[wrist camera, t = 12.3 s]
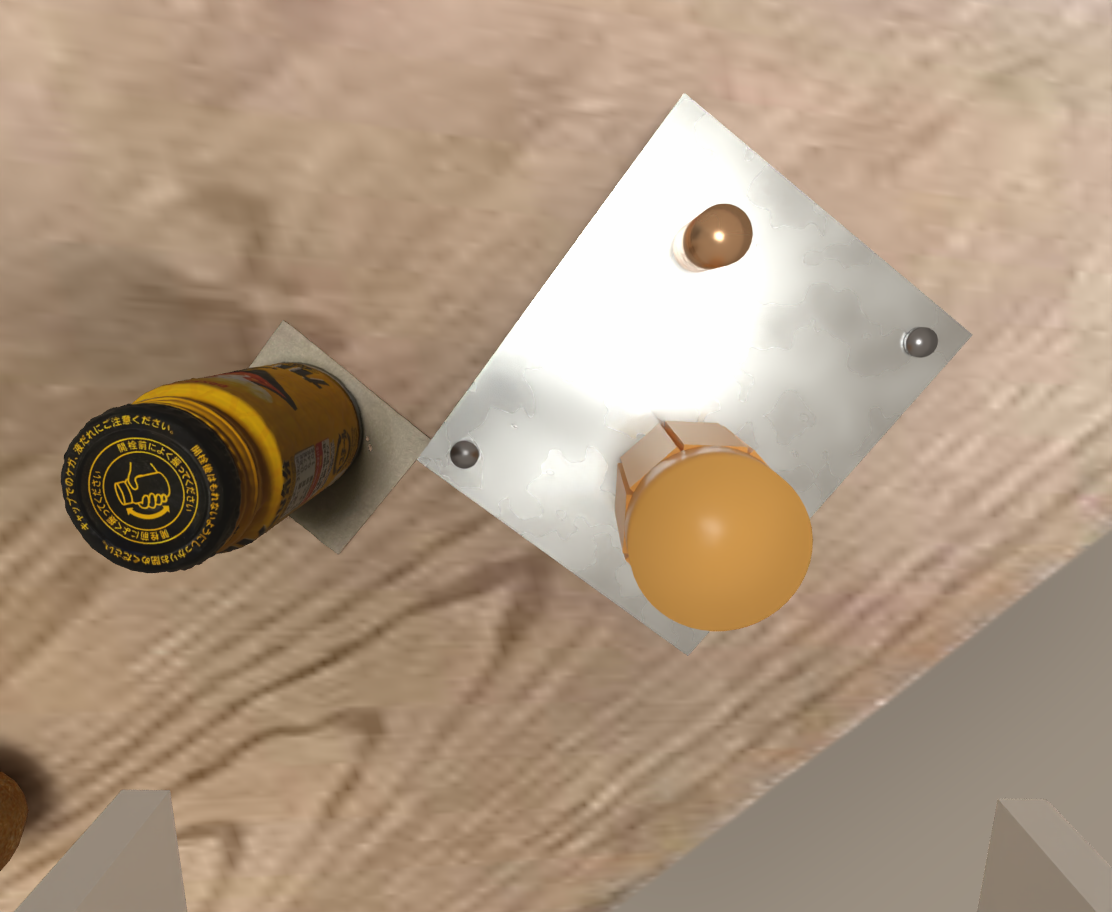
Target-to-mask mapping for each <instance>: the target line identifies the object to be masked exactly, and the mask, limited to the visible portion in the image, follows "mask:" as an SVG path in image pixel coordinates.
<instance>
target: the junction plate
mask: <svg viewBox="0 0 1112 912" xmlns="http://www.w3.org/2000/svg"><path fill="white" fill-rule="evenodd" d="M971 336H972V334H971V333H970V332H969V331H967V330H966V329H965V328H964V327H963V326H961V325H960V324H959V323H958V322H957V321H955V320H954V319H953V318H952V317H951V316H949V315H948V314H947V313H946V312H945V311H944V310H942V309H941V308H940V307H939V306H938V305H936V304H935V303H934V302H933V301H932V300H930V299H929V298H928V297H927V296H926V295H924V294H923V293H922V292H921V291H920V290H919V289H917V288H916V287H915V286H914V285H913V284H911V283H910V282H909V281H908V280H907V279H905V278H904V277H903V276H902V275H901V274H899V273H898V272H897V271H896V270H895V269H894V268H892V267H891V266H890V265H889V264H888V263H886V262H885V261H884V260H883V259H882V258H880V257H879V256H878V255H877V254H876V253H874V252H873V251H872V250H871V249H870V248H869V247H867V246H866V245H865V244H864V243H863V242H861V241H860V240H859V239H858V238H857V237H855V236H854V235H853V234H852V233H851V232H849V231H848V230H847V229H846V228H845V227H844V226H842V225H841V224H840V223H839V222H838V221H836V220H835V219H834V218H833V217H832V216H830V215H829V214H828V213H827V212H826V211H824V210H823V209H822V208H821V207H820V206H819V205H817V204H816V203H815V202H814V201H813V200H811V199H810V198H809V197H808V196H807V195H805V194H804V193H803V192H802V191H801V190H799V189H798V188H797V187H796V186H795V185H794V184H792V183H791V182H790V181H789V180H788V179H786V178H785V177H784V176H783V175H782V174H780V173H779V172H778V171H777V170H776V169H774V168H773V167H772V166H771V165H770V164H769V163H767V162H766V161H765V160H764V159H763V158H761V157H760V156H759V155H758V154H757V153H755V152H754V151H753V150H752V149H751V148H749V147H748V146H747V145H746V144H745V143H744V142H742V141H741V140H740V139H739V138H738V137H736V136H735V135H734V134H733V133H732V132H730V131H729V130H728V129H727V128H726V127H724V126H723V125H722V124H721V123H720V122H719V121H717V120H716V119H715V118H714V117H713V116H711V115H710V114H709V113H708V112H707V111H705V110H704V109H703V108H702V107H701V106H699V105H698V104H697V103H696V102H695V101H694V100H692V99H691V98H690V97H689V96H688V95H686V94H685V93H684V94H683V95H682V97H681V98H680V100H679V101H678V102H677V104H676V105H675V106H674V108H673V109H672V110H671V112H670V113H669V115H668V116H667V117H666V119H665V120H664V121H663V123H662V124H661V126H660V127H659V128H658V130H657V131H656V132H655V134H654V135H653V137H652V138H651V139H650V141H649V142H648V143H647V145H646V146H645V147H644V149H643V150H642V152H641V153H640V154H639V156H638V157H637V158H636V160H635V161H634V163H633V164H632V165H631V167H630V168H629V169H628V171H627V172H626V174H625V175H624V176H623V178H622V179H621V180H620V182H619V183H618V185H617V186H616V187H615V189H614V190H613V191H612V193H611V194H610V195H609V197H608V198H607V200H606V201H605V202H604V204H603V205H602V206H601V208H600V209H599V211H598V212H597V213H596V215H595V216H594V217H593V219H592V220H591V222H590V223H589V224H588V226H587V227H586V228H585V230H584V231H583V232H582V234H581V235H580V237H579V238H578V239H577V241H576V242H575V243H574V245H573V246H572V248H571V249H570V250H569V252H568V253H567V254H566V256H565V257H564V259H563V260H562V261H561V263H560V264H559V265H558V267H557V268H556V270H555V271H554V272H553V274H552V275H551V276H550V278H549V279H548V280H547V282H546V283H545V285H544V286H543V287H542V289H541V290H540V291H539V293H538V294H537V296H536V297H535V298H534V300H533V301H532V302H531V304H530V305H529V307H528V308H527V309H526V311H525V312H524V313H523V315H522V316H521V317H520V319H519V320H518V322H517V323H516V324H515V326H514V327H513V328H512V330H511V331H510V333H509V334H508V335H507V337H506V338H505V339H504V341H503V342H502V344H501V345H500V346H499V348H498V349H497V350H496V352H495V353H494V355H493V356H492V357H491V359H490V360H489V361H488V363H487V364H486V365H485V367H484V368H483V370H482V371H481V372H480V374H479V375H478V376H477V378H476V379H475V381H474V382H473V383H472V385H471V386H470V387H469V389H468V390H467V392H466V393H465V394H464V396H463V397H462V398H461V400H460V401H459V403H458V404H457V405H456V407H455V408H454V409H453V411H452V412H451V413H450V415H449V416H448V418H447V419H446V420H445V422H444V423H443V424H442V426H441V427H440V429H439V430H438V431H437V433H436V434H435V435H434V437H433V438H432V440H431V441H430V442H429V444H428V445H427V446H426V448H425V449H424V450H423V452H422V453H421V455H420V456H419V457H418V459H417V461H419V462H420V463H422V464H423V465H424V466H426V467H427V468H429V469H430V470H431V471H433V472H434V473H435V474H437V475H438V476H440V477H441V478H442V479H444V480H445V481H447V482H448V483H449V484H451V485H452V486H453V487H455V488H456V489H458V490H459V491H460V492H462V493H463V494H464V495H466V496H467V497H469V498H470V499H471V500H473V501H474V502H476V503H477V504H478V505H480V506H481V507H482V508H484V509H485V510H487V511H488V512H489V513H491V514H492V515H494V516H495V517H496V518H498V519H499V520H500V521H502V522H503V523H505V524H506V525H507V526H509V527H510V528H512V529H513V530H514V531H516V532H517V533H518V534H520V535H521V536H523V537H524V538H525V539H527V540H528V541H529V542H531V543H532V544H534V545H535V546H536V547H538V548H539V549H541V550H542V551H543V552H545V553H546V554H547V555H549V556H550V557H552V558H553V559H554V560H556V561H557V562H559V563H560V564H561V565H563V566H564V567H565V568H567V569H568V570H570V571H571V572H572V573H574V574H575V575H577V576H578V577H579V578H581V579H582V580H583V581H585V582H586V583H588V584H589V585H590V586H592V587H593V588H595V589H596V590H597V591H599V592H600V593H601V594H603V595H604V596H606V597H607V598H608V599H610V600H611V601H612V602H614V603H615V604H617V605H618V606H619V607H621V608H622V609H624V610H625V611H626V612H628V613H629V614H630V615H632V616H633V617H635V618H636V619H637V620H639V621H640V622H642V623H643V624H644V625H646V626H647V627H648V628H650V629H651V630H653V631H654V632H655V633H657V634H658V635H660V636H661V637H662V638H664V639H665V640H666V641H668V642H669V643H671V644H672V645H673V646H675V647H676V648H677V649H679V650H680V651H682V652H683V653H684V654H686V655H687V656H688V655H689V654H690V653H691V652H692V651H693V650H694V649H695V647H696V646H697V645H698V644H699V643H700V642H701V641H702V640H703V638H704V637H705V636H706V635H707V634H708V633H709V632H710V631H706V630H699V629H695V628H690V627H687V626H685V625H682V624H679V623H677V622H675V621H673V620H671V619H669V618H668V617H666V616H665V615H664V614H662V613H661V612H659V611H658V610H657V609H656V608H655V607H654V606H653V605H652V604H651V603H650V602H649V601H648V600H647V598H646V597H645V596H644V595H643V593H642V591H641V590H640V588H639V587H638V584H637V582H636V580H635V578H634V575H633V572H632V568H631V565H630V564H629V563H628V562H627V561H626V560H625V557H624V553H623V552H622V547H621V542H620V537H619V532H618V527H617V522H616V517H615V497H616V480H617V463H622V462H621V459H620V457H621V456H622V455H623V454H625V453H626V452H627V451H628V450H629V449H630V448H631V447H633V446H634V445H635V444H636V443H637V442H638V441H639V440H640V439H642V438H643V437H644V436H645V435H646V434H647V433H648V432H650V431H651V430H652V429H653V428H654V427H655V426H656V425H657V424H659V423H660V424H661V425H662V426H663V427H664V429H665V421H685V422H709V423H719V424H720V425H721V426H723V425H724V426H725V427H726V428H727V429H729V430H730V431H731V432H732V433H734V434H735V435H736V436H737V437H739V438H740V439H741V440H742V441H744V442H745V443H746V444H747V445H749V446H750V447H751V448H752V449H754V450H755V451H756V452H757V454H758V455H759V456H760V457H761V458H762V459H763V460H764V461H765V463H766V464H767V465H768V466H769V467H770V468H771V469H772V470H773V471H774V472H776V473H777V474H778V475H779V476H780V477H782V478H783V479H784V480H785V481H786V482H787V483H788V484H789V485H790V486H791V487H792V488H793V489H794V490H795V492H796V493H797V494H798V496H799V497H800V499H801V500H802V502H803V504H804V506H805V508H806V511H807V513H808V516H809V519H810V518H811V517H812V515H813V514H814V513H815V512H816V511H817V510H818V509H819V508H820V506H821V505H822V504H823V503H824V502H825V501H826V500H827V499H828V497H829V496H830V495H831V494H832V493H833V492H834V491H835V490H836V488H837V487H838V486H839V485H840V484H841V483H842V482H843V481H844V479H845V478H846V477H847V476H848V475H849V474H850V473H851V472H852V470H853V469H854V468H855V467H856V466H857V465H858V464H859V462H860V461H861V460H862V459H863V458H864V457H865V456H866V455H867V453H868V452H869V451H870V450H871V449H872V448H873V447H874V446H875V444H876V443H877V442H878V441H879V440H880V439H881V438H882V437H883V435H884V434H885V433H886V432H887V431H888V430H889V429H890V428H891V426H892V425H893V424H894V423H895V422H896V421H897V420H898V419H899V417H900V416H901V415H902V414H903V413H904V412H905V411H906V409H907V408H908V407H909V406H910V405H911V404H912V403H913V402H914V400H915V399H916V398H917V397H918V396H919V395H920V394H921V393H922V391H923V390H924V389H925V388H926V387H927V386H928V385H929V384H930V382H931V381H932V380H933V379H934V378H935V377H936V376H937V375H938V373H939V372H940V371H941V370H942V369H943V368H944V367H945V365H946V364H947V363H948V362H949V361H950V360H951V359H952V358H953V356H954V355H955V354H956V353H957V352H958V351H959V350H960V349H961V347H962V346H963V345H964V344H965V343H966V342H967V341H968V340H969V338H970V337H971Z"/></svg>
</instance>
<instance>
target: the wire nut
mask: <svg viewBox="0 0 1112 912" xmlns="http://www.w3.org/2000/svg"><path fill="white" fill-rule="evenodd" d="M620 459H621V462H622V463H617V480H616V497H615V517H616V522H617V527H618V532H619V537H620V542H621V547H622V552H623V553H624V557H625V560H626V561H627V562H628V563H629V564H630V565H631V568H632V572H633V575H634V578H635V580H636V582H637V584H638V587H639V588H640V590H641V591H642V593H643V595H644V596H645V597H646V598H647V600H648V601H649V602H650V603H651V604H652V605H653V606H654V607H655V608H656V609H657V610H658V611H659V612H661V613H662V614H664V615H665V616H666V617H668V618H669V619H671V620H673V621H675V622H677V623H679V624H682V625H685V626H687V627H690V628H695V629H699V630H706V631H728V630H736V629H740V628H743V627H747V626H750V625H752V624H755V623H758V622H760V621H761V620H763V619H765V618H767V617H769V616H770V615H772V614H773V613H775V612H776V611H777V610H779V609H780V608H781V607H782V606H783V605H784V604H785V603H787V601H788V600H789V599H790V598H791V597H792V596H793V595H794V593H795V592H796V590H797V589H798V587H799V586H800V585H801V583H802V581H803V579H804V577H805V575H806V572H807V569H808V567H809V564H810V559H811V554H812V544H813V537H812V527H811V523H810V519H809V516H808V513H807V511H806V508H805V506H804V504H803V502H802V500H801V499H800V497H799V496H798V494H797V493H796V492H795V490H794V489H793V488H792V487H791V486H790V485H789V484H788V483H787V482H786V481H785V480H784V479H783V478H782V477H780V476H779V475H778V474H777V473H776V472H774V471H773V470H772V469H771V468H770V467H769V466H768V465H767V464H766V463H765V461H764V460H763V459H762V458H761V457H760V456H759V455H758V454H757V452H756V451H755V450H754V449H752V448H751V447H750V446H749V445H747V444H746V443H745V442H744V441H742V440H741V439H740V438H739V437H737V436H736V435H735V434H734V433H732V432H731V431H730V430H729V429H727V428H726V427H725V426H724V425H723V426H721V425H720V424H719V423H709V422H685V421H665V429H664V427H663V426H662V425H661V424H660V423H659V424H657V425H656V426H655V427H654V428H653V429H652V430H651V431H650V432H648V433H647V434H646V435H645V436H644V437H643V438H642V439H640V440H639V441H638V442H637V443H636V444H635V445H634V446H633V447H631V448H630V449H629V450H628V451H627V452H626V453H625V454H623V455H622V456H621V457H620Z"/></svg>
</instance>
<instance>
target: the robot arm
mask: <svg viewBox="0 0 1112 912" xmlns="http://www.w3.org/2000/svg"><path fill="white" fill-rule="evenodd" d="M14 912H187V906H186V899H185V892H184V885H183V878H182V871H181V864H180V857H179V850H178V843H177V836H176V829H175V822H174V815H173V808H172V800H171V793H170V790H121V791H120V793H119V794H118V795H117V796H116V797H115V798H114V799H113V800H112V802H111V803H110V804H109V805H108V806H107V807H106V808H105V809H104V811H103V812H102V813H101V814H100V815H99V816H98V817H97V819H96V820H95V821H94V822H93V823H92V824H91V825H90V826H89V828H88V829H87V830H86V831H85V832H84V833H83V834H82V835H81V837H80V838H79V839H78V840H77V841H76V842H75V843H74V844H73V846H72V847H71V848H70V849H69V850H68V851H67V852H66V854H65V855H64V856H63V857H62V858H61V859H60V860H59V861H58V863H57V864H56V865H55V866H54V867H53V868H52V869H51V870H50V872H49V873H48V874H47V875H46V876H45V877H44V878H43V879H42V881H41V882H40V883H39V884H38V885H37V886H36V887H35V889H34V890H33V891H32V892H31V893H30V894H29V895H28V896H27V898H26V899H25V900H24V901H23V902H22V903H21V904H20V905H19V907H18V908H17V909H16V910H15V911H14ZM977 912H1112V867H1111V866H1110V865H1109V864H1108V863H1107V862H1106V861H1105V860H1104V859H1103V858H1102V857H1101V856H1100V855H1099V854H1098V853H1097V851H1096V850H1095V849H1094V848H1093V847H1092V846H1091V845H1090V844H1089V843H1088V842H1087V841H1086V840H1085V839H1084V838H1083V837H1082V836H1081V835H1080V834H1079V833H1078V832H1077V831H1076V830H1075V829H1074V828H1073V827H1072V826H1071V824H1070V823H1068V821H1067V820H1066V819H1065V818H1064V817H1063V816H1062V815H1061V814H1060V813H1059V812H1058V811H1057V810H1056V809H1055V808H1054V807H1053V806H1052V805H1051V804H1050V803H1049V802H1048V801H1047V800H1046V799H998V800H997V806H996V811H995V817H994V822H993V828H992V833H991V839H990V844H989V849H988V855H987V861H986V866H985V872H984V877H983V882H982V888H981V894H980V899H979V904H978V910H977Z"/></svg>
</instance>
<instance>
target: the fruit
mask: <svg viewBox="0 0 1112 912" xmlns="http://www.w3.org/2000/svg"><path fill="white" fill-rule="evenodd" d="M27 815H28V807H27V803H26V799H25V795H24V793H23V791H22V790H21V788H20V787H19V786H18V784H17V783H16V781H14V780H13V779H12V778H10V777H9V776H7V775H6V774H5V773H3V772H0V871H1V870H2V869H3V867H4V866H5V865H6V864H7V863H8V862H9V861H10V859H11V857H12V856H13V854H14V852H15V851H16V849H17V847H18V846H19V843H20V840H21V837H22V834H23V831H24V827H25V823H26V819H27Z"/></svg>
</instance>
